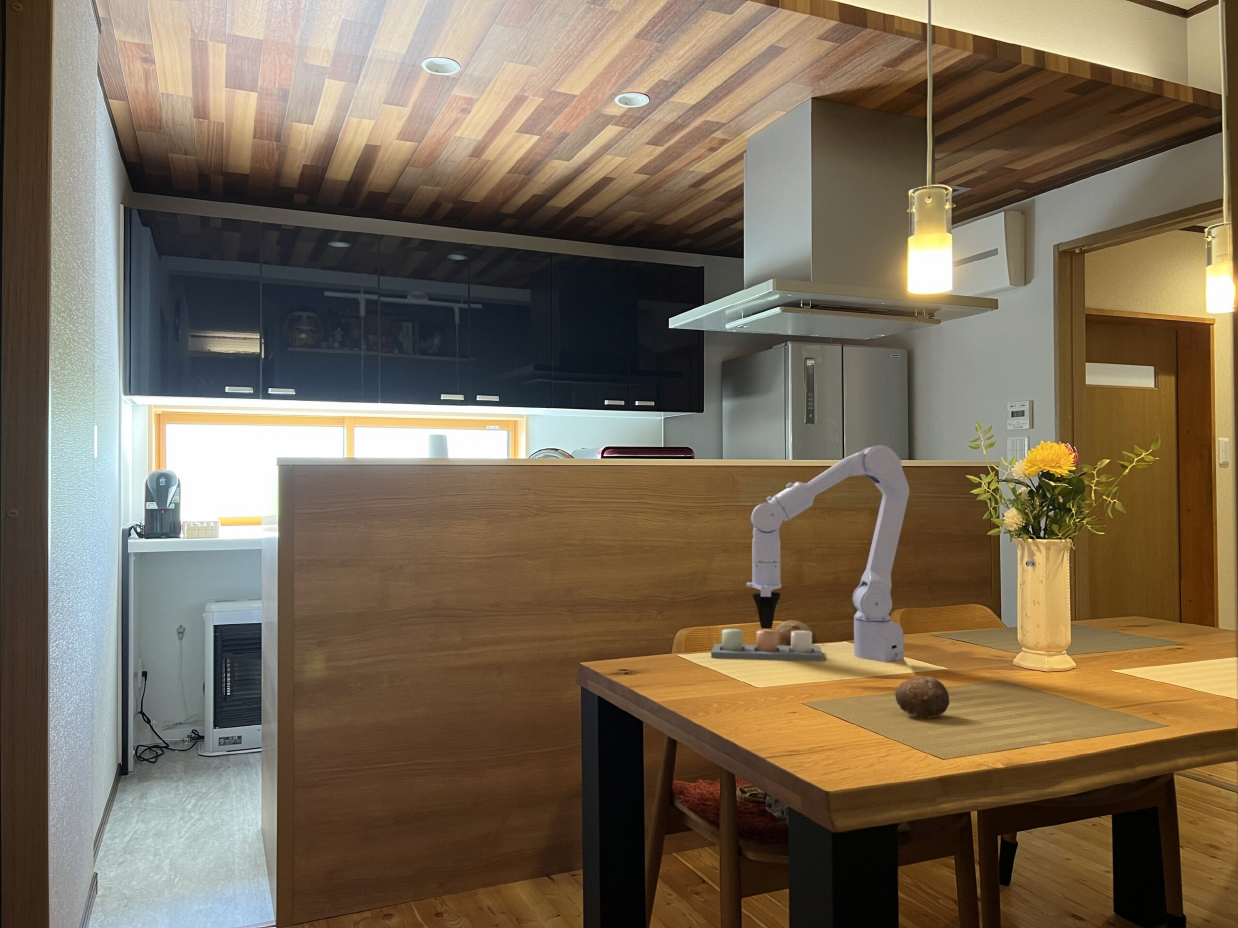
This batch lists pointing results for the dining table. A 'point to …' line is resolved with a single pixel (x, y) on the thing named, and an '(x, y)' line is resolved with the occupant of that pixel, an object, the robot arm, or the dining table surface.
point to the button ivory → (801, 641)
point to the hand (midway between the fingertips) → (766, 628)
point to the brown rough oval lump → (922, 697)
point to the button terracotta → (766, 640)
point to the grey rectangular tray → (767, 653)
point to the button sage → (732, 639)
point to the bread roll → (791, 625)
